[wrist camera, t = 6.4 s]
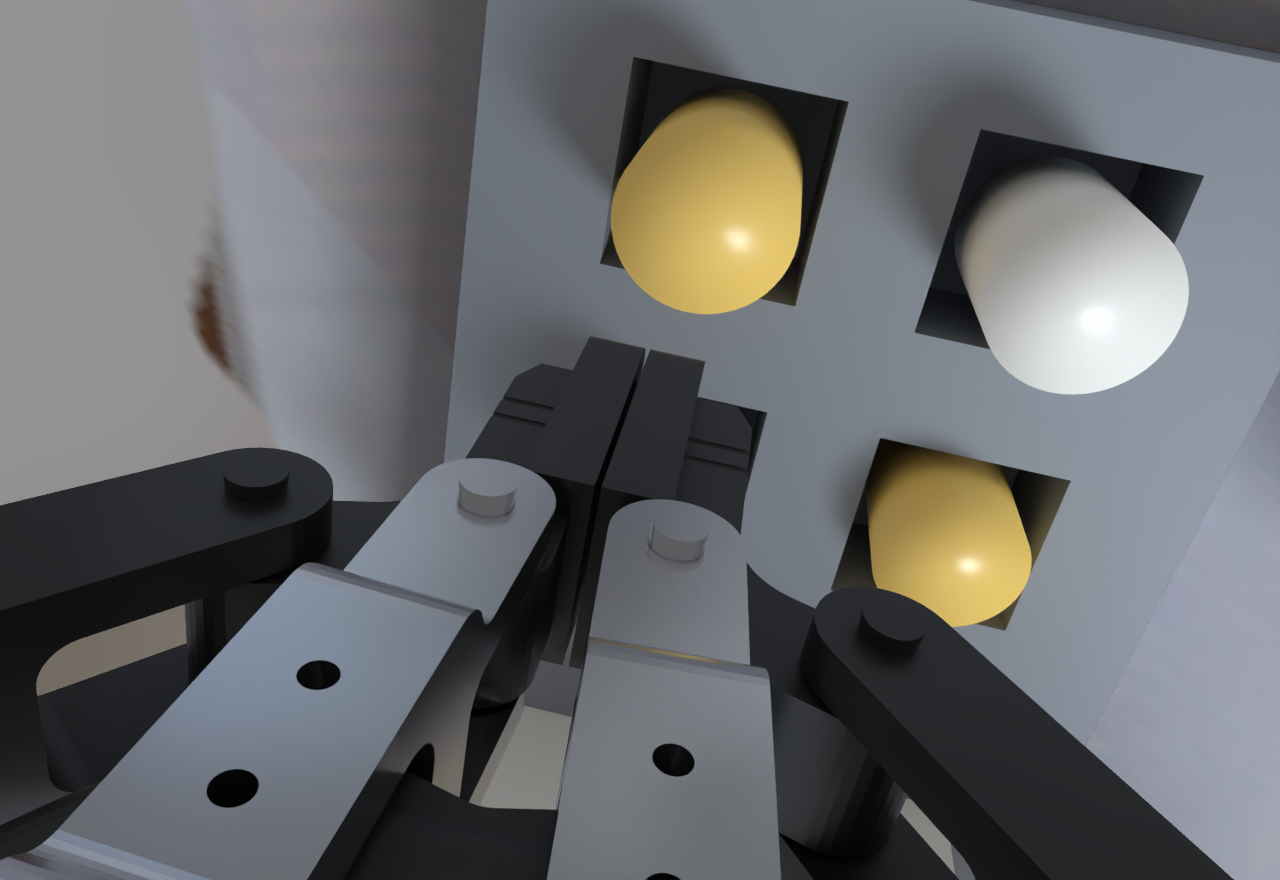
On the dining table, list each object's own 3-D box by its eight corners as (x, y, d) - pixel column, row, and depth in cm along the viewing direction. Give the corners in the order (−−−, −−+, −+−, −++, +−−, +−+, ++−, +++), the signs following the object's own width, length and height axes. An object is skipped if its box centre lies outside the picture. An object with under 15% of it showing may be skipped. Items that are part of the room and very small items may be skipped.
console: (1330, 63, 25) (1621, 152, 16) (1001, 760, 37) (1063, 1046, 28) (544, -95, 26) (398, -96, 17) (460, 631, 38) (346, 863, 29)
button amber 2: (821, 106, 25) (822, 149, 21) (782, 262, 27) (775, 331, 23) (660, 73, 25) (627, 108, 21) (633, 230, 27) (597, 292, 23)
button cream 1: (1150, 175, 25) (1223, 233, 20) (1087, 329, 27) (1141, 412, 22) (984, 141, 25) (1020, 191, 20) (933, 295, 27) (956, 371, 22)
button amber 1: (1020, 429, 30) (1055, 518, 26) (975, 541, 32) (1000, 642, 28) (885, 399, 30) (896, 482, 26) (848, 512, 32) (853, 607, 28)
